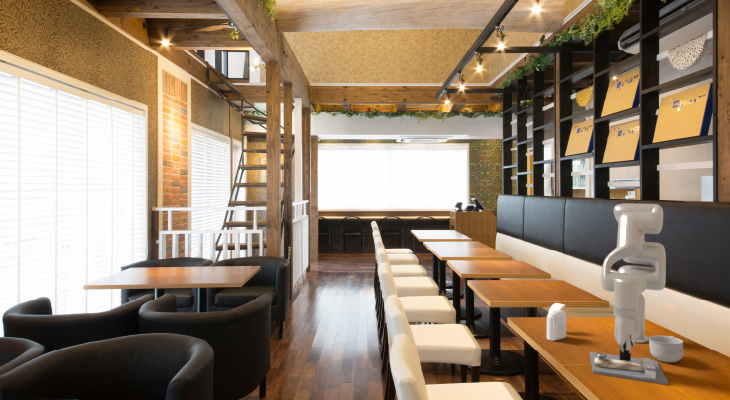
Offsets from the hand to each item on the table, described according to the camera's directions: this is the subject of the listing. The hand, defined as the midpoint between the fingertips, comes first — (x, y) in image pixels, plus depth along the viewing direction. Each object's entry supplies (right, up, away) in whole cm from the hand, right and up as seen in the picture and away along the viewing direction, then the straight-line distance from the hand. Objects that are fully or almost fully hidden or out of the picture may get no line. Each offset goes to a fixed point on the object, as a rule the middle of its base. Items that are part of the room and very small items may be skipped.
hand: (624, 362), depth 158 cm
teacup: (+22, -2, +9) cm, 24 cm away
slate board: (0, -2, 0) cm, 2 cm away
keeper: (+4, -2, -6) cm, 8 cm away
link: (-2, -1, -3) cm, 4 cm away
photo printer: (-11, -2, +32) cm, 34 cm away
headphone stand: (-6, -2, +43) cm, 43 cm away
